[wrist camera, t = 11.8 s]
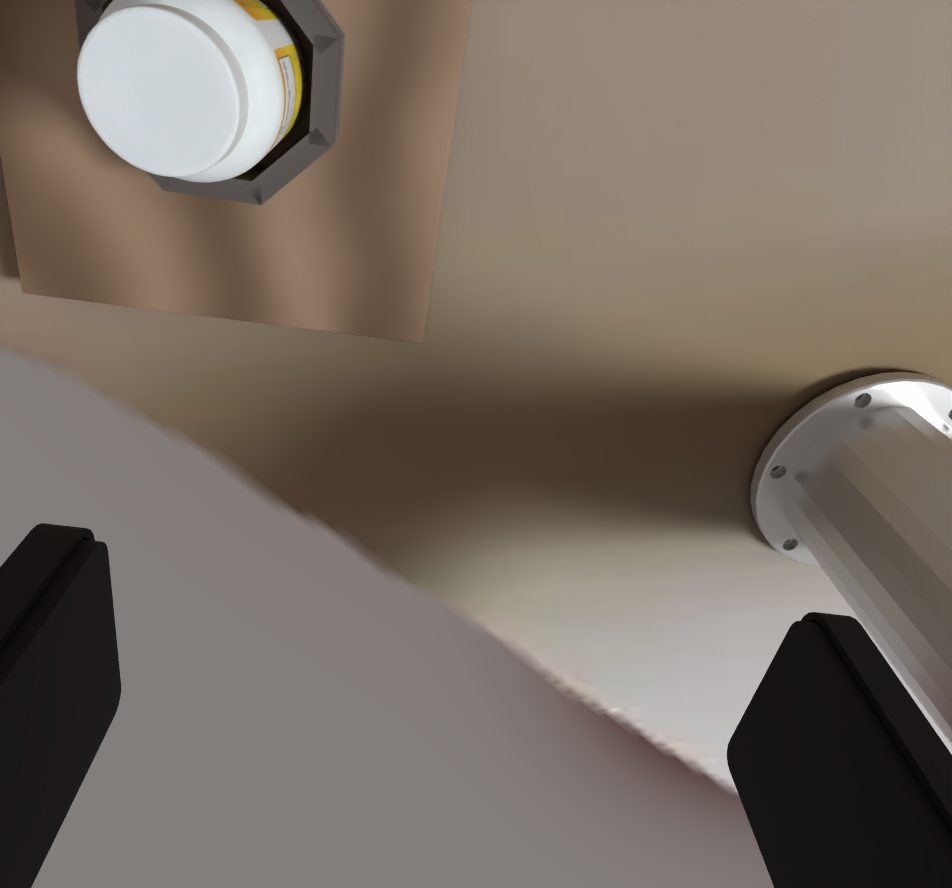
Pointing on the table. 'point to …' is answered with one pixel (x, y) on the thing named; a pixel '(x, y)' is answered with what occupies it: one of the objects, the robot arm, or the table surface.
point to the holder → (246, 178)
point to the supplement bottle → (192, 84)
